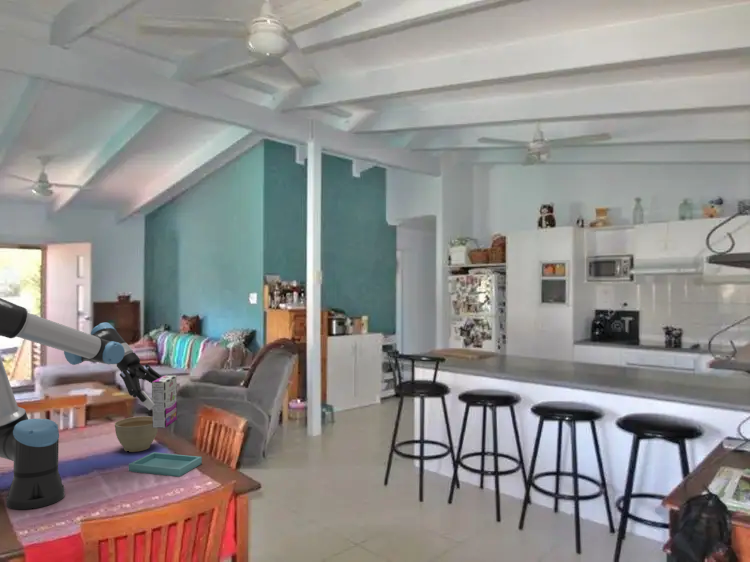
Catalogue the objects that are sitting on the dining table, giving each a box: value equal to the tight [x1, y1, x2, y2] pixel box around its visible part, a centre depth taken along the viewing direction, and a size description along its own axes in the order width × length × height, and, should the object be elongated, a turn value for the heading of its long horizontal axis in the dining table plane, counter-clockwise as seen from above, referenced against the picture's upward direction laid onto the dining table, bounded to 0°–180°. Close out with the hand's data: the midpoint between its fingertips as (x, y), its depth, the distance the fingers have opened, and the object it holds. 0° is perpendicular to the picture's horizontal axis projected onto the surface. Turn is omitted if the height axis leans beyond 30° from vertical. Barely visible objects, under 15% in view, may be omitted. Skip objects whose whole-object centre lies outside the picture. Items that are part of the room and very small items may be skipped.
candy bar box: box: [151, 375, 178, 429], centre depth 201 cm, size 11×5×16 cm, turn 179°
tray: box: [128, 451, 203, 478], centre depth 201 cm, size 14×20×2 cm
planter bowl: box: [114, 416, 159, 453], centre depth 222 cm, size 16×16×11 cm
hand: (162, 403), depth 201 cm, fingers closed on candy bar box, 11 cm apart
